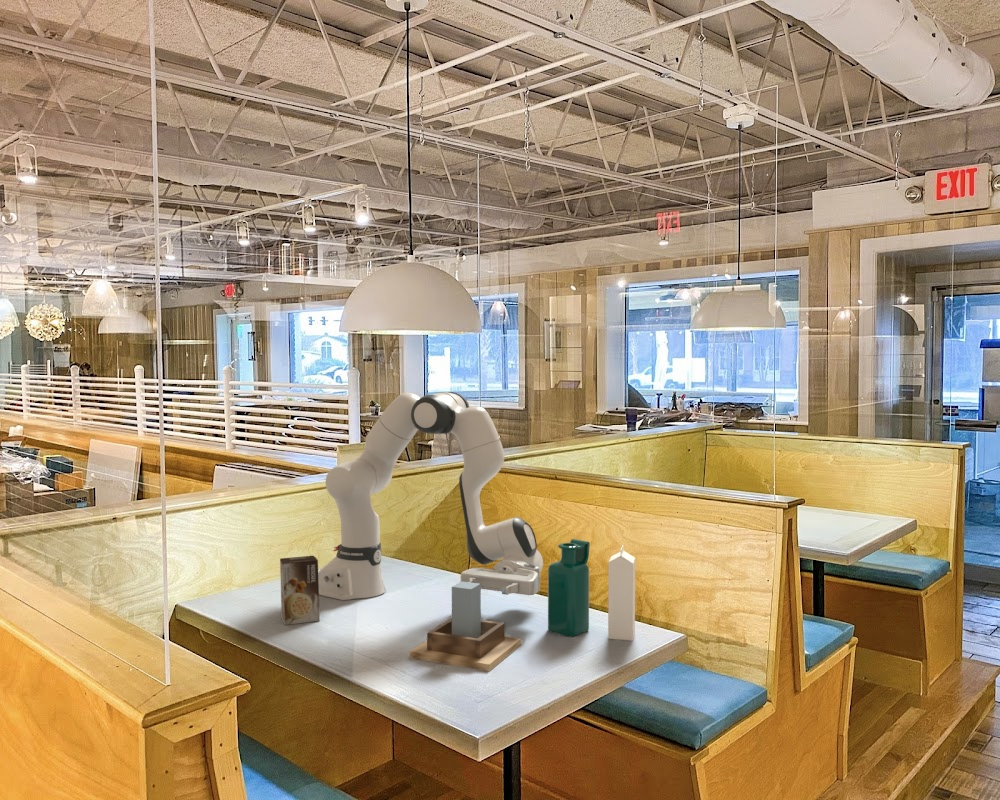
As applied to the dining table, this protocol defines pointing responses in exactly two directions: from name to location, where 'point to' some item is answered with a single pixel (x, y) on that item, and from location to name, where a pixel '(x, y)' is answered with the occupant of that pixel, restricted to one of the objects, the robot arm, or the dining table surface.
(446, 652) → the caddy
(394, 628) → the dining table surface
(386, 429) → the robot arm
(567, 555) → the green tall squared bottle
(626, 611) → the milk
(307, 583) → the coffee box
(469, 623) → the grey block
